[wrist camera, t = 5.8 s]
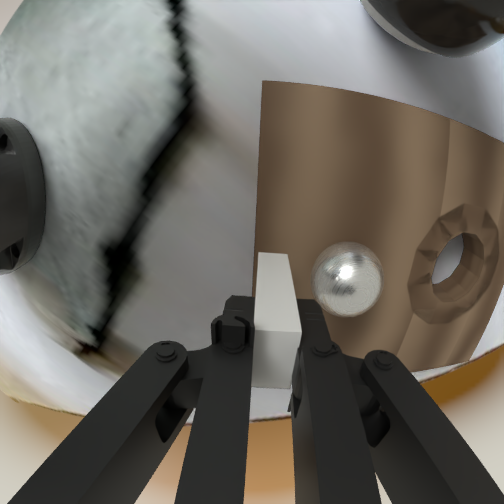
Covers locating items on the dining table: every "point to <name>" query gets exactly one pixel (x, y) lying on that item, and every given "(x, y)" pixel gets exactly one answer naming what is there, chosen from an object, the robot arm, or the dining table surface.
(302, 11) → the dining table surface
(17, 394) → the dining table surface
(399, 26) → the pump dispenser
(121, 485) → the robot arm
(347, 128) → the walnut board
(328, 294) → the steel ball
